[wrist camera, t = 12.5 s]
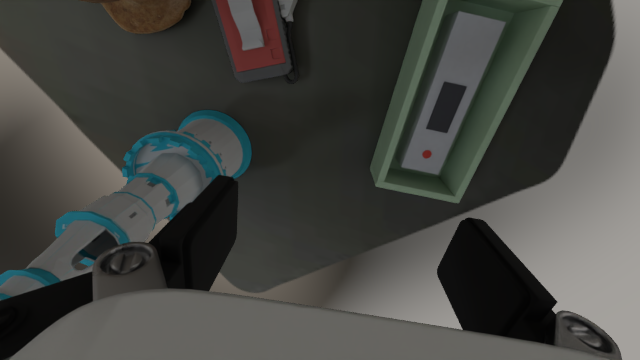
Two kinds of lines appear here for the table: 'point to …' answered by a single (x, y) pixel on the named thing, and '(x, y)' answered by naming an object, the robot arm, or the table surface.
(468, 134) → the tray
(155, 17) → the brown flared hollow piece
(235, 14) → the walkie-talkie
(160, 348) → the robot arm
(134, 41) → the table surface
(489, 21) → the remote
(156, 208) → the model tower
